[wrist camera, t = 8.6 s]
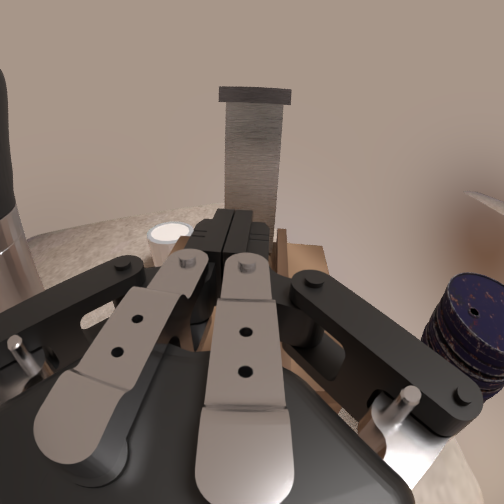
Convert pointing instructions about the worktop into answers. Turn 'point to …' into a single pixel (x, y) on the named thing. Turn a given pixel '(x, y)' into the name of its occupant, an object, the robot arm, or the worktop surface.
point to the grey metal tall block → (253, 149)
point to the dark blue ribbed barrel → (471, 330)
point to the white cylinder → (165, 239)
